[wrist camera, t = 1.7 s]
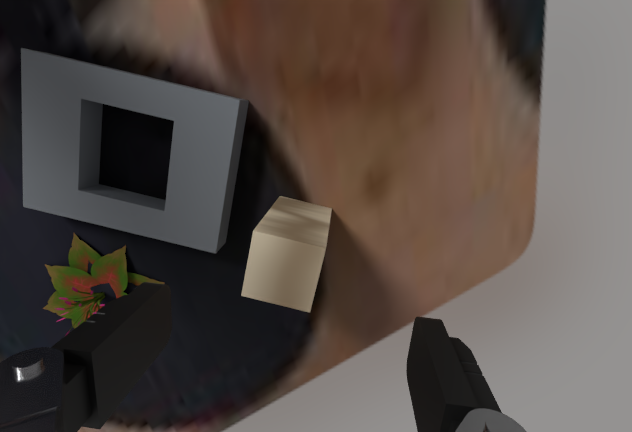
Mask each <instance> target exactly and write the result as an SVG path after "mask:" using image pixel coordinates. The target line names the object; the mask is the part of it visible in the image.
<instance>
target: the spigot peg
mask: <svg viewBox="0 0 632 432" xmlns="http://www.w3.org/2000/svg"><path fill="white" fill-rule="evenodd" d="M331 211H332V208H328V207H324V206H320V205H316V204H312V203H308V202H303V201H299V200H295V199H291V198H287V197H283V196H279V198H278V199H277V200H276V202H275V203H274V204H273V206H272V207H271V208H270V210H269V211H268V212H267V213H266V215H265V216H264V217H263V219H262V220H261V221H260V223H259V224H258V225H257V226H256V228H255V229H254V230H253V235H252V240H251V245H250V251H249V256H248V262H247V267H246V272H245V278H244V283H243V289H242V294H241V296H244V297H248V298H253V299H257V300H261V301H265V302H269V303H273V304H277V305H281V306H285V307H289V308H293V309H298V310H302V311H306V312H310V310H311V306H312V302H313V298H314V294H315V291H316V287H317V283H318V279H319V275H320V271H321V267H322V263H323V259H324V255H325V251H326V246H327V239H328V232H329V225H330V218H331Z"/></svg>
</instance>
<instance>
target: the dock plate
mask: <svg viewBox="0 0 632 432" xmlns="http://www.w3.org/2000/svg"><path fill="white" fill-rule="evenodd" d="M21 86H22V156H23V207H27V208H31V209H35V210H39V211H43V212H47V213H51V214H55V215H60V216H64V217H68V218H72V219H76V220H80V221H84V222H88V223H92V224H96V225H101V226H105V227H109V228H113V229H117V230H121V231H125V232H129V233H133V234H138V235H142V236H146V237H150V238H154V239H158V240H162V241H166V242H170V243H174V244H179V245H183V246H187V247H191V248H195V249H199V250H203V251H207V252H211V253H217V252H218V251H219V249H220V248H221V247H222V246H223V245H224V244H225V243H226V238H227V232H228V226H229V219H230V213H231V207H232V201H233V195H234V189H235V183H236V177H237V170H238V164H239V158H240V152H241V146H242V140H243V134H244V128H245V122H246V115H247V109H248V103H249V101H248V100H244V99H240V98H235V97H231V96H227V95H223V94H219V93H214V92H210V91H206V90H202V89H198V88H193V87H189V86H185V85H181V84H177V83H172V82H168V81H164V80H160V79H156V78H151V77H147V76H143V75H139V74H135V73H130V72H126V71H122V70H118V69H114V68H109V67H105V66H101V65H97V64H93V63H88V62H84V61H80V60H76V59H72V58H67V57H63V56H59V55H55V54H51V53H46V52H40V51H35V50H30V49H25V48H21ZM103 104H106V105H110V106H114V107H118V108H122V109H127V110H131V111H135V112H139V113H143V114H147V115H152V116H156V117H160V118H164V119H168V120H173V121H174V127H173V136H172V145H171V155H170V164H169V173H168V183H167V192H166V200H163V199H159V198H155V197H151V196H147V195H143V194H138V193H134V192H130V191H126V190H122V189H118V188H114V187H109V186H105V185H101V184H99V171H100V150H101V130H102V110H103Z"/></svg>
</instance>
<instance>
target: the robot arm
mask: <svg viewBox="0 0 632 432" xmlns="http://www.w3.org/2000/svg"><path fill="white" fill-rule="evenodd" d="M171 329H172V319H171V292H170V287H169V286H168V285H165V284H157V283H149V282H143V283H142V284H140V285H139V286H138V287H137V288H136V289H134V290H133V291H132V292H131V293H129V294H128V295H123V296H121V297H119V298H117V299H114V300H112V301H110V302H108V303H107V304H105V305H104V306H103V307H102V308H100V309H99V310H98V311H97V312H96V314H93V315H92V316H90V317H89V318H88V319H86V322H83V323H81V324H80V325H79V326H78V327H76V328H75V329H74V330H73V331H71V332H70V333H69V334H67V335H66V336H65V337H64V338H62V339H61V340H60V341H59V342H57V343H56V344H55V345H54V346H52V347H51V348H50V347H41V348H34V349H29V350H25V351H22V352H19V353H17V354H14V355H12V356H10V357H8V358H7V359H5V360H3V361H2V362H1V363H0V432H77V431H78V430H79V429H80V428H81V427H89V428H95V429H101V427H102V426H103V425H104V423H105V422H106V421H107V420H108V418H109V417H110V416H111V415H112V413H113V412H114V411H115V409H116V408H117V407H118V406H119V404H120V403H121V402H122V401H123V399H124V398H125V397H126V396H127V394H128V393H129V392H130V390H131V389H132V388H133V387H134V385H135V384H136V383H137V382H138V380H139V379H140V378H141V377H142V375H143V374H144V373H145V371H146V370H147V369H148V368H149V366H150V365H151V364H152V363H153V361H154V360H155V359H156V358H157V356H158V355H159V354H160V352H161V351H162V350H163V349H164V347H165V346H166V345H167V343H168V341H169V338H170V335H171ZM407 380H408V386H409V391H410V395H411V400H412V405H413V410H414V415H415V420H416V425H417V430H418V432H526V431H525V430H524V428H523V427H522V426H521V425H519V424H518V423H517V422H516V421H514V420H513V419H512V418H510V417H508V416H507V415H505V414H503V413H502V412H501V410H500V408H499V406H498V404H497V402H496V400H495V398H494V396H493V394H492V392H491V390H490V388H489V386H488V384H487V382H486V380H485V378H484V376H482V372H481V370H480V368H479V366H478V365H477V362H476V360H475V358H474V356H473V354H472V351H471V350H470V349H469V348H468V347H467V346H466V345H465V344H464V343H463V342H461V340H460V339H459V338H453V337H449V336H448V333H447V331H446V329H445V326H444V324H443V322H442V320H440V319H431V318H424V317H416V319H415V321H414V326H413V331H412V337H411V342H410V348H409V353H408V358H407Z"/></svg>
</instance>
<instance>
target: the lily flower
mask: <svg viewBox="0 0 632 432" xmlns="http://www.w3.org/2000/svg"><path fill="white" fill-rule="evenodd" d="M71 245H72V248H70V251H69V265H70V267H66V266H52V267H51V266H49V265H45V266H46V268H47V269H48V272H49V275H50V276H51V277H52V279H51V280H52V283H53V286H54V288H55V289H56V290H57V291H55V292H54V293H53V295H52V296H51V297H50V299H49V301H48V305H46V306H45V307H44V308H43V309H47V310H49V311H51V312H53V313H55V312H56V313H57V315H59V316H62V317H64V318H63V319H65V318H70V319H72V325H73V326H72V327H74V329H75V328H76V327H78V326H79V325H80V324H81V323H83V322H86V319H88V318H89V317H90V316H92V315H93V314H96V312H97V311H98V310H99V309H100V308H102V307H103V306H104V305H105V304H100V303H101V301H102V300H103V299H104V298H105V295H104V293H105V292H104V293H102V292H100V293H93V291H91V290H90V287H93V286H96V285H99V284H103V283H110V285H111V287H112V289H113V290H114V292H115V294H116V297H117V298H119V297H121V296H123V295H128V294H127V293H124V292H123V291H124V290H125V289H126V287H127V283H128V282H130V283H133V284H135V285H140V284H142V283H143V282H149V283H157V284H164V282H159V281H156V280H154V279H149V278H148V277H145V276H142V275H138V274H135V273H129V272H127V264H126V256H125V252H126V245H125V246H124V247H123V248H122V249H118V250H116V251H114V252H113V254H107V255H105V256H103V257H101V256H100V255H99V254H98V253H97V252H96V251H94V250H93V249H92V248H91V247H90V246H88V245H87V244H86V243H85V242H83V241H81V240H79V238H78V237H77V236H76V235H75V234H74V238H73V241H72V244H71ZM88 260H89V262H90V263H92V264H93V265H92V267H91V275H92V276H91V275H90V274H88V273H87V269H88ZM98 295H99V296H98ZM94 296H97V297H95V298H94ZM101 296H102V297H101ZM100 297H101V298H100ZM99 298H100V299H99ZM98 299H99V300H98ZM74 301H81V302H77V303H76V302H74ZM97 301H98V302H97ZM96 302H97V303H96ZM99 306H100V307H99ZM63 319H61V320H63ZM58 321H60V320H58ZM56 322H57V321H56ZM69 331H70V330H69ZM69 331H68V333H69ZM68 333H67V334H68ZM67 334H66V335H67Z"/></svg>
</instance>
